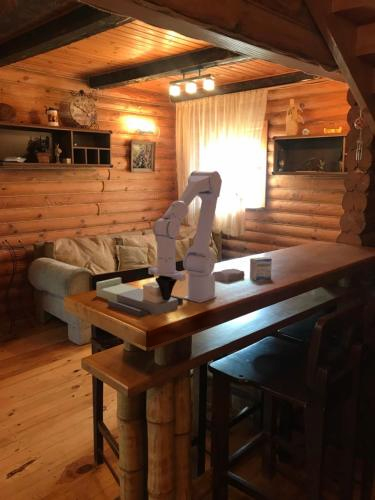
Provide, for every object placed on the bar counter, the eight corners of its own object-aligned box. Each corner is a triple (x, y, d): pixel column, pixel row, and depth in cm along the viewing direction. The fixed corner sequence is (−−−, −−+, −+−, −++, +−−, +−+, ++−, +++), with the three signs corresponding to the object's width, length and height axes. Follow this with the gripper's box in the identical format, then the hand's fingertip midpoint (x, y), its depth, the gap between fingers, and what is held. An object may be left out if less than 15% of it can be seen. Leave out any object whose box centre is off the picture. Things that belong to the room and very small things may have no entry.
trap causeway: (128, 288, 164) (128, 275, 163) (187, 304, 144) (187, 290, 143) (86, 298, 150) (85, 284, 150) (144, 318, 130) (144, 303, 129)
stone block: (210, 283, 179) (228, 283, 171) (208, 272, 179) (227, 271, 171) (228, 279, 187) (246, 279, 180) (227, 268, 187) (245, 267, 180)
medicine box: (255, 280, 176) (256, 260, 174) (249, 278, 180) (249, 258, 178) (271, 278, 179) (272, 258, 177) (265, 276, 183) (265, 256, 181)
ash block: (156, 295, 144) (156, 281, 143) (169, 299, 140) (169, 284, 139) (143, 299, 139) (142, 284, 139) (155, 303, 136) (155, 288, 135)
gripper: (141, 255, 136) (141, 297, 138) (174, 262, 126) (174, 307, 129) (157, 252, 141) (157, 292, 143) (190, 259, 131) (190, 301, 134)
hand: (166, 299), depth 136 cm, fingers closed
